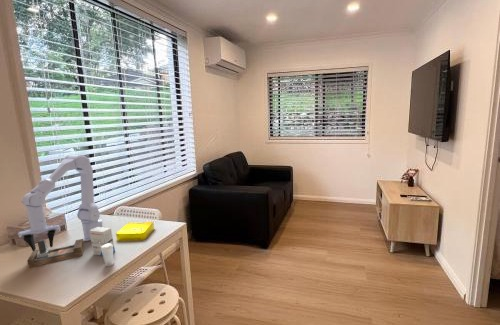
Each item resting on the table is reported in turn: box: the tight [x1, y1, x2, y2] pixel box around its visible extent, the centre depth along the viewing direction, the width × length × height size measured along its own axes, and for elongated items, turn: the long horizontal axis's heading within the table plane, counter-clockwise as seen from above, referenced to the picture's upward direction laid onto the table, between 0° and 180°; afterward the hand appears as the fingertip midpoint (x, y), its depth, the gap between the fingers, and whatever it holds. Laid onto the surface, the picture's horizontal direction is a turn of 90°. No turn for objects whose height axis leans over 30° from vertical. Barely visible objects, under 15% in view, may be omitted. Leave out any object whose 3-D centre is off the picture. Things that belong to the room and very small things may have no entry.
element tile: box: [115, 221, 155, 242], centre depth 149 cm, size 15×15×5 cm
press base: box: [27, 238, 85, 268], centre depth 129 cm, size 20×10×4 cm, turn 116°
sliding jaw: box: [37, 238, 52, 259], centre depth 127 cm, size 4×6×7 cm, turn 26°
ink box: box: [89, 226, 116, 256], centre depth 129 cm, size 9×5×12 cm, turn 71°
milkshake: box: [98, 243, 115, 267], centre depth 119 cm, size 4×5×10 cm
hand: (43, 248), depth 127 cm, fingers open, 6 cm apart
